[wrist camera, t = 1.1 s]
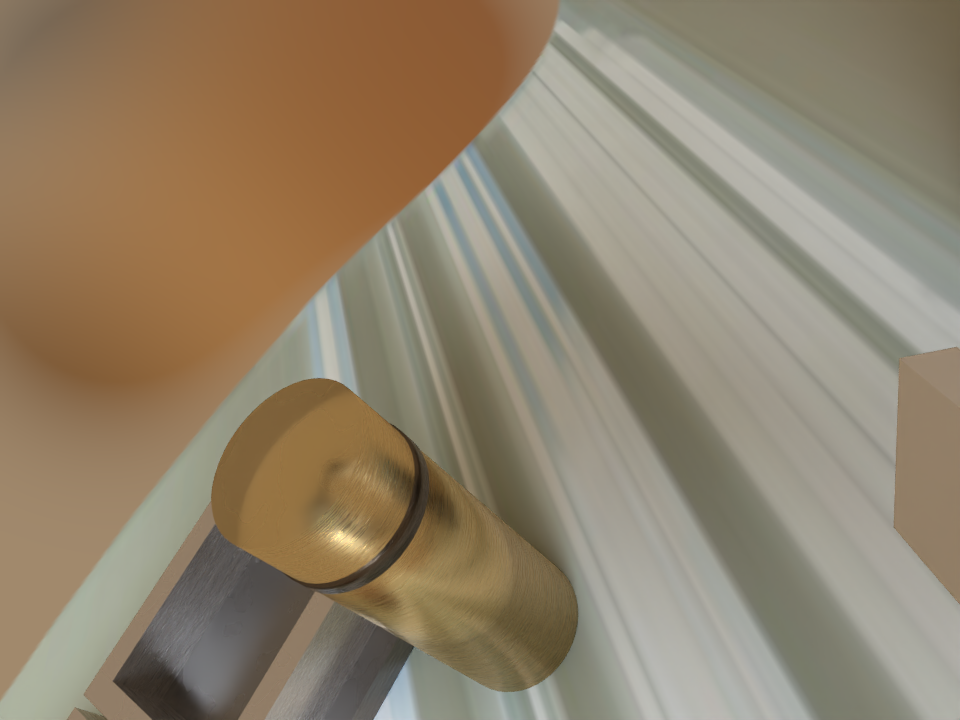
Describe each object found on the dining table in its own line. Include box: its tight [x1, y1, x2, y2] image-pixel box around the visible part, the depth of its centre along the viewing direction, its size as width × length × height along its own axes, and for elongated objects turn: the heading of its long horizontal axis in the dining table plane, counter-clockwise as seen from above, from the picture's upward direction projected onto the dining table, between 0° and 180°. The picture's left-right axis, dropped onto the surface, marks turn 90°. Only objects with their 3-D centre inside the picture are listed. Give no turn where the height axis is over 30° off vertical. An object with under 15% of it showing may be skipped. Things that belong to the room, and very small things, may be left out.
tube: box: [211, 378, 578, 692], centre depth 25 cm, size 5×5×12 cm
